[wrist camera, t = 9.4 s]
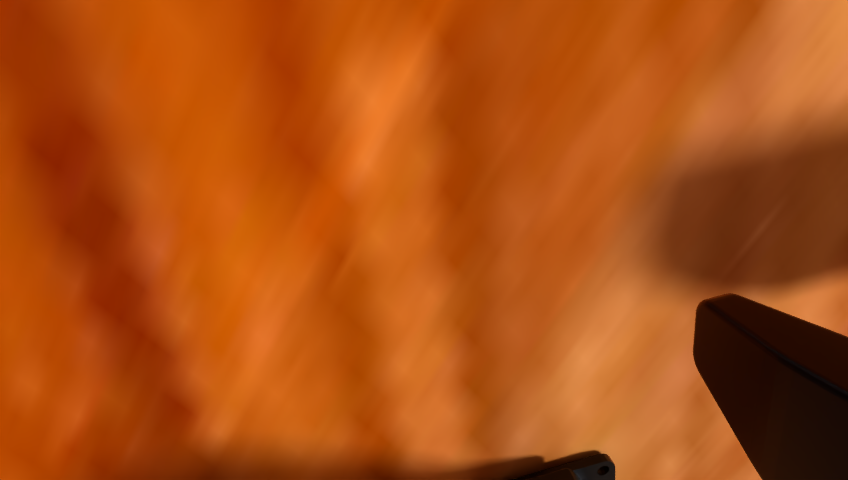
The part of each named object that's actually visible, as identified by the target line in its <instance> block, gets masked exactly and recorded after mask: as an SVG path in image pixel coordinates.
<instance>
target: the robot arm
mask: <svg viewBox="0 0 848 480" xmlns="http://www.w3.org/2000/svg"><path fill="white" fill-rule="evenodd" d="M693 356H694V361H695V364H696V367H697V369H698V371H699V373H700V375H701V376H702V378H703V380H704V382H705V383H706V385H707V387H708V389H709V390H710V392H711V394H712V395H713V397H714V399H715V401H716V402H717V404H718V406H719V408H720V409H721V411H722V413H723V414H724V416H725V418H726V420H727V421H728V423H729V425H730V427H731V428H732V430H733V432H734V433H735V435H736V437H737V439H738V440H739V442H740V444H741V446H742V447H743V449H744V451H745V452H746V454H747V456H748V458H749V459H750V461H751V462H752V464H753V466H754V467H755V469H756V471H757V472H758V474H759V475H760V477H761V478H762V480H848V337H847V336H844V335H842V334H839V333H836V332H834V331H831V330H829V329H826V328H823V327H821V326H818V325H815V324H813V323H810V322H807V321H805V320H802V319H800V318H797V317H794V316H792V315H789V314H786V313H784V312H781V311H779V310H776V309H773V308H771V307H768V306H765V305H763V304H760V303H758V302H755V301H752V300H750V299H747V298H744V297H742V296H739V295H736V294H731V293H730V294H723V295H720V296H716V297H713V298H709V299H705V300H703V301H701V302H700V303H699V305H698V307H697V310H696V319H695V332H694V345H693ZM513 480H615V465H614V463H613V461H612V460H611V458H610V457H609V456H608V455H607V454H599V455H595V456H592V457H588V458H585V459H581V460H578V461H575V462H571V463H568V464H564V465H561V466H557V467H554V468H551V469H547V470H544V471H540V472H537V473H534V474H530V475H527V476H523V477H520V478H516V479H513Z"/></svg>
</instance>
